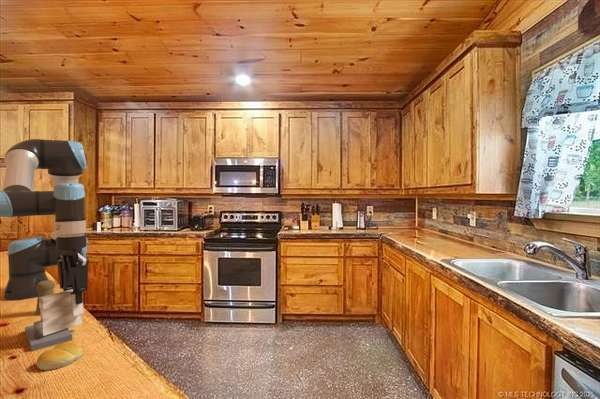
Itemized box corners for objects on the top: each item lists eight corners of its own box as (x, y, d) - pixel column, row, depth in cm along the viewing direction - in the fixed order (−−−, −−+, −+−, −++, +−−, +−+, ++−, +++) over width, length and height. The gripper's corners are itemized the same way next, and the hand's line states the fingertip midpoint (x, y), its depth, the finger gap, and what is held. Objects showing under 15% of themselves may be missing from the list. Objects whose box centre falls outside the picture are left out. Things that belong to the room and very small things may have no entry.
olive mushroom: (45, 316, 111) (44, 283, 111) (30, 314, 112) (29, 283, 112) (61, 309, 117) (60, 279, 117) (47, 308, 118) (46, 278, 118)
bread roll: (28, 369, 77) (27, 353, 77) (64, 351, 86) (63, 336, 86) (56, 373, 75) (55, 356, 75) (89, 354, 84) (89, 339, 84)
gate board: (25, 332, 98) (24, 327, 98) (61, 323, 104) (61, 318, 104) (31, 351, 86) (31, 345, 86) (72, 339, 92) (72, 334, 92)
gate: (36, 339, 89) (34, 300, 88) (32, 336, 90) (30, 299, 90) (83, 323, 99) (82, 289, 98) (79, 321, 100) (78, 287, 100)
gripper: (43, 235, 98) (46, 313, 98) (72, 238, 90) (75, 322, 91) (70, 232, 104) (73, 305, 105) (99, 234, 97) (103, 313, 97)
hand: (74, 313), depth 98 cm, fingers closed on gate, 3 cm apart
